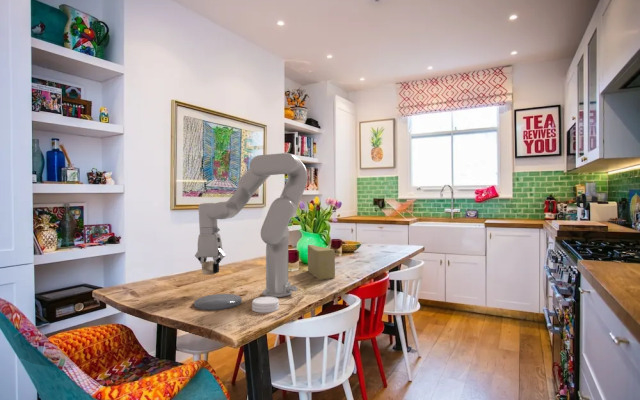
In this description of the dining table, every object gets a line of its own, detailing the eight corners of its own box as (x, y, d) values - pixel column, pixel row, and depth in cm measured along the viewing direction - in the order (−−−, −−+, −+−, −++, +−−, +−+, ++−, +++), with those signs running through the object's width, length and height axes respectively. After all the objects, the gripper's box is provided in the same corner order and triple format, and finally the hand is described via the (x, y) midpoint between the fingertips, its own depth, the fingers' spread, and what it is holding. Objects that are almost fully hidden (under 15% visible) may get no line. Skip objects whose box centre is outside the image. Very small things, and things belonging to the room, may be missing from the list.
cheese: (300, 272, 199) (300, 244, 199) (316, 270, 204) (316, 243, 203) (318, 280, 179) (318, 250, 179) (335, 278, 184) (335, 248, 184)
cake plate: (249, 298, 149) (249, 295, 149) (225, 312, 131) (225, 309, 131) (211, 295, 154) (211, 292, 154) (184, 308, 137) (183, 305, 137)
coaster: (280, 304, 141) (279, 295, 141) (277, 313, 131) (277, 303, 131) (254, 305, 140) (254, 296, 140) (250, 313, 130) (249, 304, 130)
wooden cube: (218, 272, 160) (218, 261, 160) (212, 274, 156) (211, 263, 155) (209, 272, 162) (208, 260, 162) (202, 274, 157) (201, 262, 157)
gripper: (230, 229, 159) (232, 271, 160) (197, 230, 165) (199, 270, 165) (220, 231, 152) (222, 274, 153) (186, 232, 157) (188, 274, 158)
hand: (210, 272), depth 159 cm, fingers closed on wooden cube, 4 cm apart
